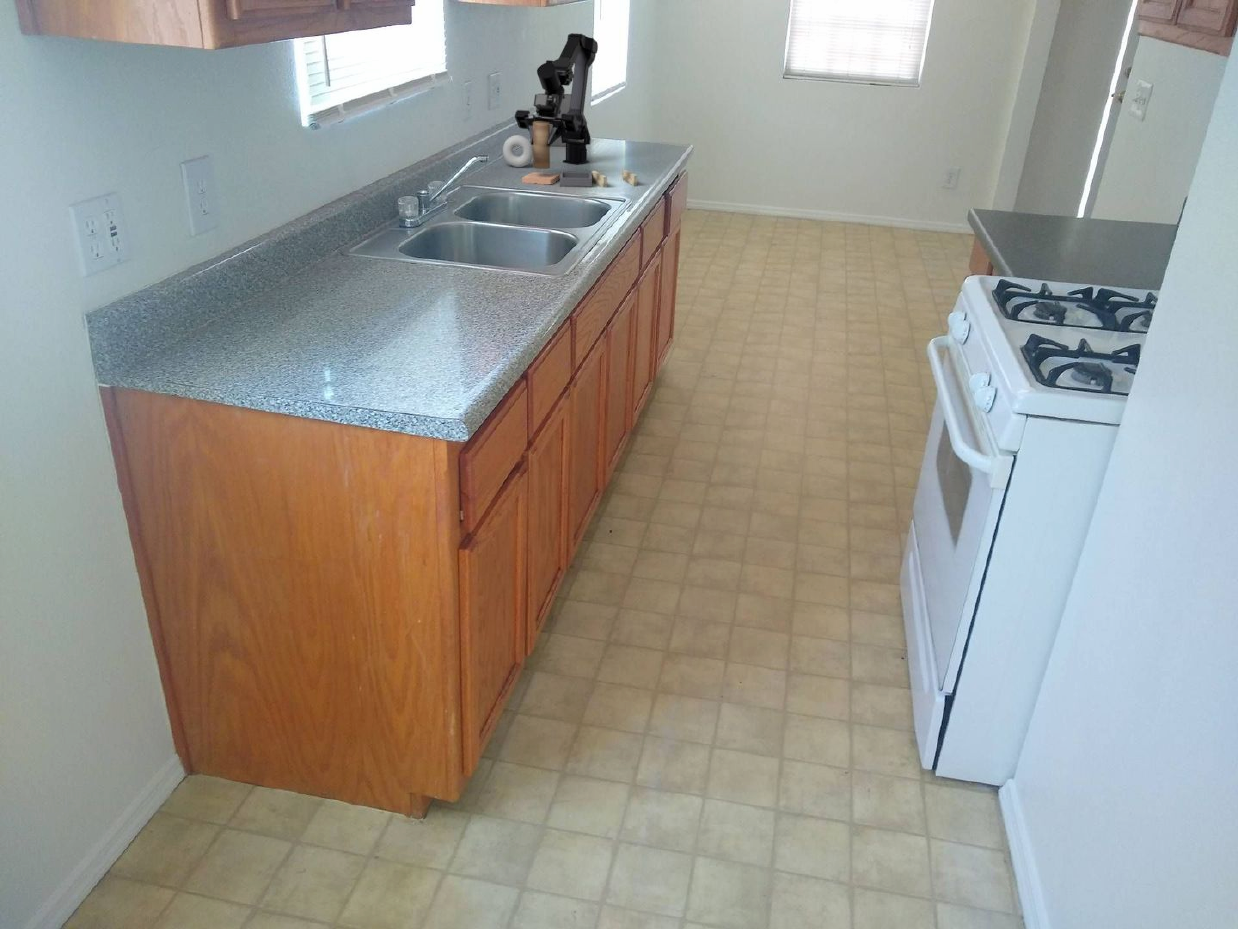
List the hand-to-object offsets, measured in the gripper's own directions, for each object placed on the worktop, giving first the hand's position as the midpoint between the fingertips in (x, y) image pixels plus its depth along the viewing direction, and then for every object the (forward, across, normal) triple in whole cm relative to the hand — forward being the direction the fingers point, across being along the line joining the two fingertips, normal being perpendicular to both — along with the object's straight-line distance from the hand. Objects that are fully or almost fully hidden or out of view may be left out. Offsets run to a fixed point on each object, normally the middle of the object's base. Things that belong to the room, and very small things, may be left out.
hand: (539, 144), depth 284 cm
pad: (+7, 0, +9) cm, 11 cm away
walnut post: (+4, 0, +6) cm, 7 cm away
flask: (-37, -16, +52) cm, 66 cm away
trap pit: (+6, +11, +9) cm, 15 cm away
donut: (-5, -14, +21) cm, 26 cm away
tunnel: (+2, +21, +13) cm, 25 cm away
